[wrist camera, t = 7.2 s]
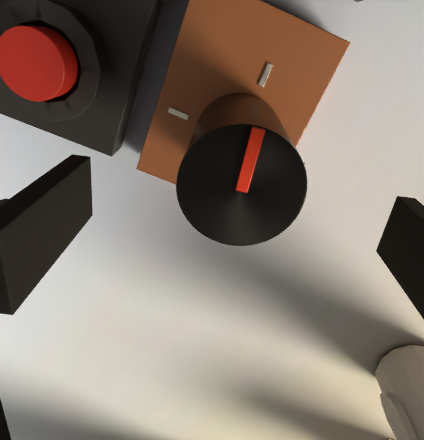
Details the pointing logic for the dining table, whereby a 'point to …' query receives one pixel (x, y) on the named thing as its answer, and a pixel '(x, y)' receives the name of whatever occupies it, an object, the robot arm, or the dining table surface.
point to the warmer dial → (240, 173)
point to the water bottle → (403, 391)
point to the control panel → (238, 72)
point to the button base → (87, 66)
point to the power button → (37, 62)
